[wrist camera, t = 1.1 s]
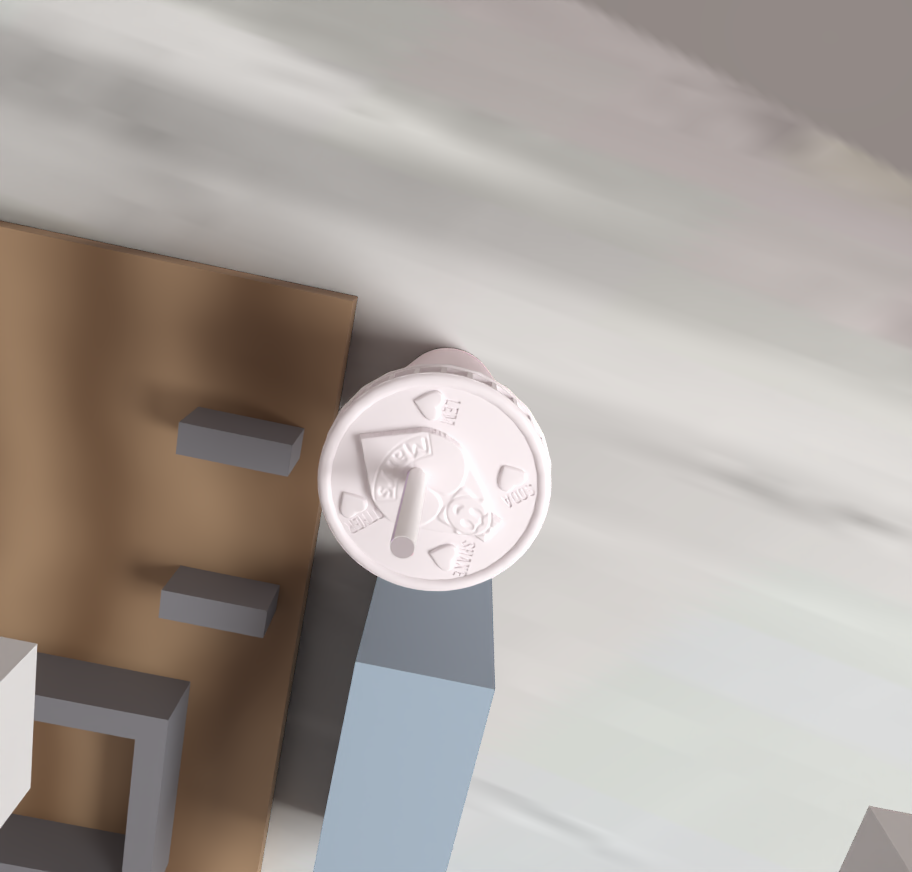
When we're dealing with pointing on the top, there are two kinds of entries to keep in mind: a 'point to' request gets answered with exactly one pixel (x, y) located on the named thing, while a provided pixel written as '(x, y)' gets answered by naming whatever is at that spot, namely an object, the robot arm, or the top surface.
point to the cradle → (153, 772)
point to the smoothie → (435, 474)
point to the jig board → (158, 511)
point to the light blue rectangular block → (410, 730)
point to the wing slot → (214, 593)
